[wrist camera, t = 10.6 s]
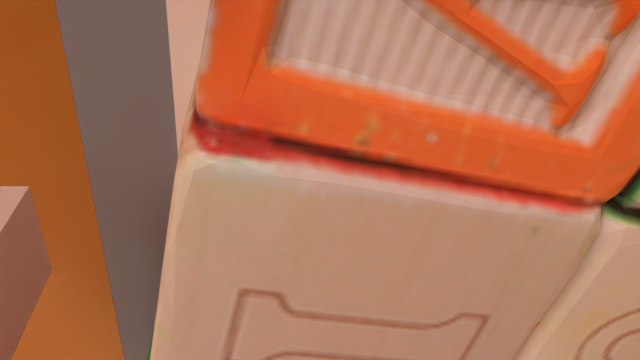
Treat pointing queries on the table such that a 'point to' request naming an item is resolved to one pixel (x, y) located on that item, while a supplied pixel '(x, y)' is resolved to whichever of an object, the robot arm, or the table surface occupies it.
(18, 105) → the table surface
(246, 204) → the stack of blocks
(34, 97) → the table surface
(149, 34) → the base board
